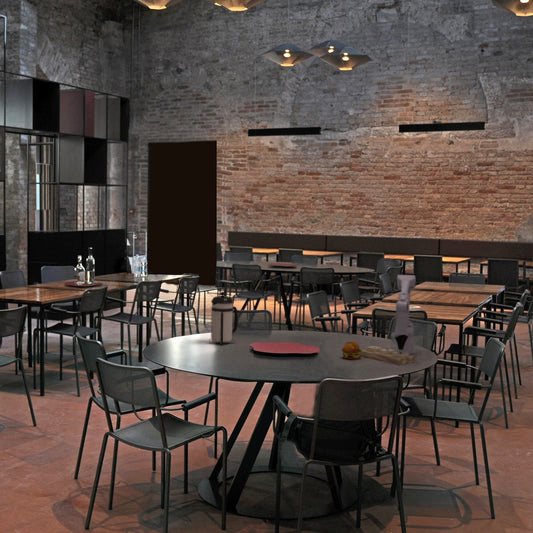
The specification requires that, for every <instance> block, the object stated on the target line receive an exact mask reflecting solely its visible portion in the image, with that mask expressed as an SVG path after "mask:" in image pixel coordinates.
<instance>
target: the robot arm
mask: <svg viewBox="0 0 533 533" xmlns="http://www.w3.org/2000/svg"><path fill="white" fill-rule="evenodd" d="M396 285H397V289H398V290H400V292H399V293H398V296H397V297H398V298H397V301H396V304H395V312H396V313H395V314H396V323H395V329H394V330H395V331H394V332H391V334H390V337H391V338H394V339H395V341H396V350H395V352H399V351H401V352H406V353H409V355H413V354H416V352H415V339H414V338H413V337H414V331H415V329H414V323H413V322H412V321H411V320H410V305H411V304H410V303H411V302H410V300H411V293H412V291H414V290H415V289H416V276H415V275H414V274H413V275H412V274H411V275H408V274H397V277H396Z"/></svg>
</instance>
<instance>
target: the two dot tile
mask: <svg viewBox="0 0 533 533" xmlns="http://www.w3.org/2000/svg"><path fill="white" fill-rule="evenodd" d="M393 352H396V349H390V348H382V349H381V350H379V353H381V354H386V355H391V354H393Z"/></svg>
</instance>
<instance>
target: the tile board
mask: <svg viewBox="0 0 533 533" xmlns="http://www.w3.org/2000/svg"><path fill="white" fill-rule="evenodd" d="M361 350H362V351H361V357H363V358H366V359H367V358H368V359H371V360H375V361H380V362H385V363H389V364H393V365H397V366H402V365H406V363H407V364H410V363H409V362H412V363H415V362H414V361H416V362H417V356H416V355H413V354H409V357H404V358H400V357H395V356H392V355H393V354H391V355H386V354H381V353H379V352H372V351H368V350H367V348H365V349H361ZM401 364H402V365H401Z"/></svg>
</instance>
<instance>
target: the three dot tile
mask: <svg viewBox="0 0 533 533" xmlns="http://www.w3.org/2000/svg"><path fill="white" fill-rule="evenodd" d="M409 355H410V354H409V353H406V352H401V351H399V352H396V351H395V352H393V355H392V356H395V357H400V358H404V357H409Z"/></svg>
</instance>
